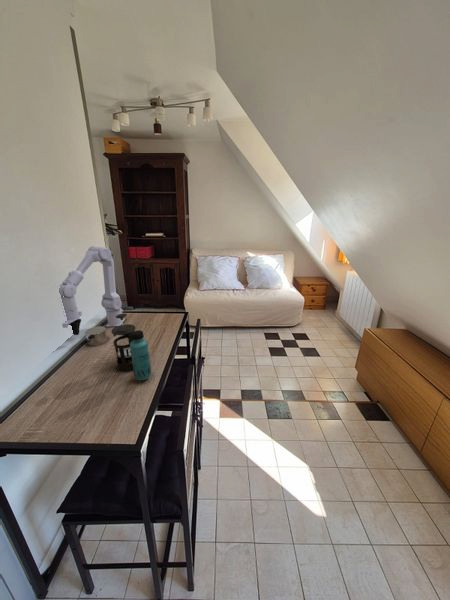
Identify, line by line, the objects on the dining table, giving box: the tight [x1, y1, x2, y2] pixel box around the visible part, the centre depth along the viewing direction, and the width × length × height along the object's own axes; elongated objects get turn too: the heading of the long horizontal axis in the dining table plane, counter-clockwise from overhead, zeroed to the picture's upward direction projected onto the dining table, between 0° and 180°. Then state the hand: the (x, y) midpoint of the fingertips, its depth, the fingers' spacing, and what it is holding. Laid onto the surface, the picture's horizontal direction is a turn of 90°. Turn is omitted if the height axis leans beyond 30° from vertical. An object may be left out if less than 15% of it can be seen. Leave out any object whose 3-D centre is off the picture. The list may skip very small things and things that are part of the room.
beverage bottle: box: [130, 329, 152, 381], centre depth 93 cm, size 6×7×20 cm
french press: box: [111, 313, 136, 373], centre depth 101 cm, size 12×9×23 cm
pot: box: [84, 325, 108, 347], centre depth 124 cm, size 12×9×6 cm
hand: (76, 334), depth 123 cm, fingers closed
